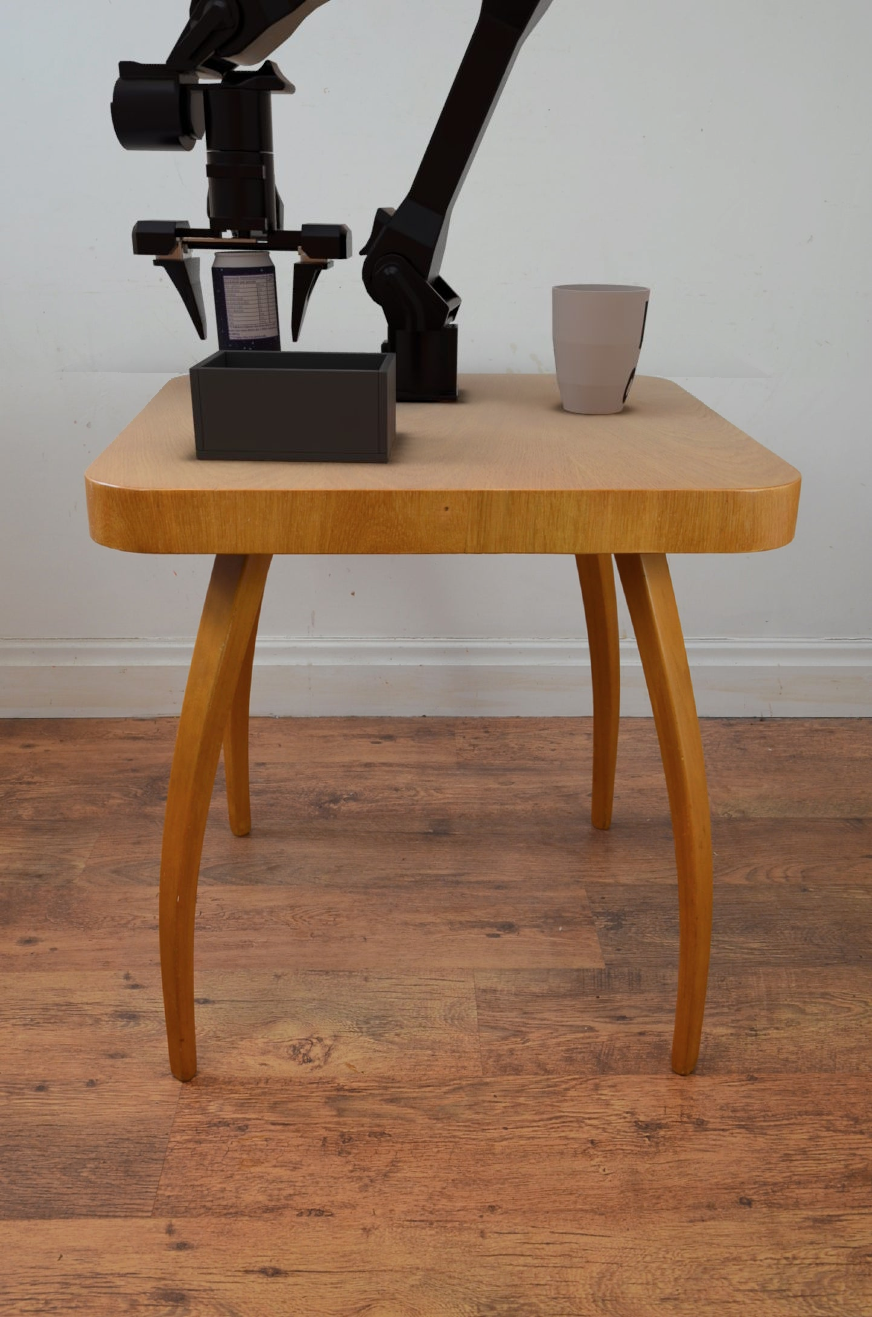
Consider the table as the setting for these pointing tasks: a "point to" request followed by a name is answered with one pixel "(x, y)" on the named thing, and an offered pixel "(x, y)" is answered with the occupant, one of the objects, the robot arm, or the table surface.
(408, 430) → the table surface
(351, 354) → the open storage box
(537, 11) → the robot arm
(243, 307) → the beverage can
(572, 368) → the cup
